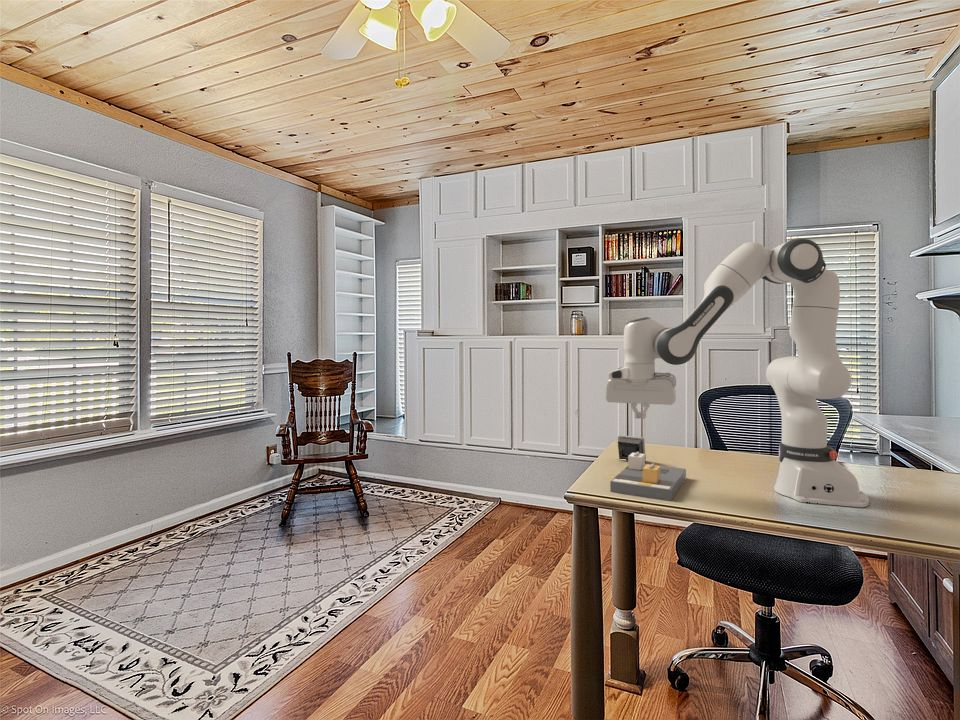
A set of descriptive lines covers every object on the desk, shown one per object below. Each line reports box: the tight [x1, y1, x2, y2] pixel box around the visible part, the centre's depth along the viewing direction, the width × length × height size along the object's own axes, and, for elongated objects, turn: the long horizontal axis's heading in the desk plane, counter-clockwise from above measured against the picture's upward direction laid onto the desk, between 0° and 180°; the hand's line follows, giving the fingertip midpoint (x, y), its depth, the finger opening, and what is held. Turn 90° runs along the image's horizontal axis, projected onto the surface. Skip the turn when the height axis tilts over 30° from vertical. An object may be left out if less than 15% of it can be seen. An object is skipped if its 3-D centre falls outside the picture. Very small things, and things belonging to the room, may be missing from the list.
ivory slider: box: [627, 452, 646, 470], centre depth 168 cm, size 4×5×5 cm
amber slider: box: [643, 462, 662, 484], centre depth 154 cm, size 4×5×5 cm
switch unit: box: [609, 463, 687, 502], centre depth 161 cm, size 17×24×3 cm
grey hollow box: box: [617, 434, 647, 461], centre depth 187 cm, size 9×5×9 cm, turn 57°
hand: (640, 418), depth 158 cm, fingers closed
